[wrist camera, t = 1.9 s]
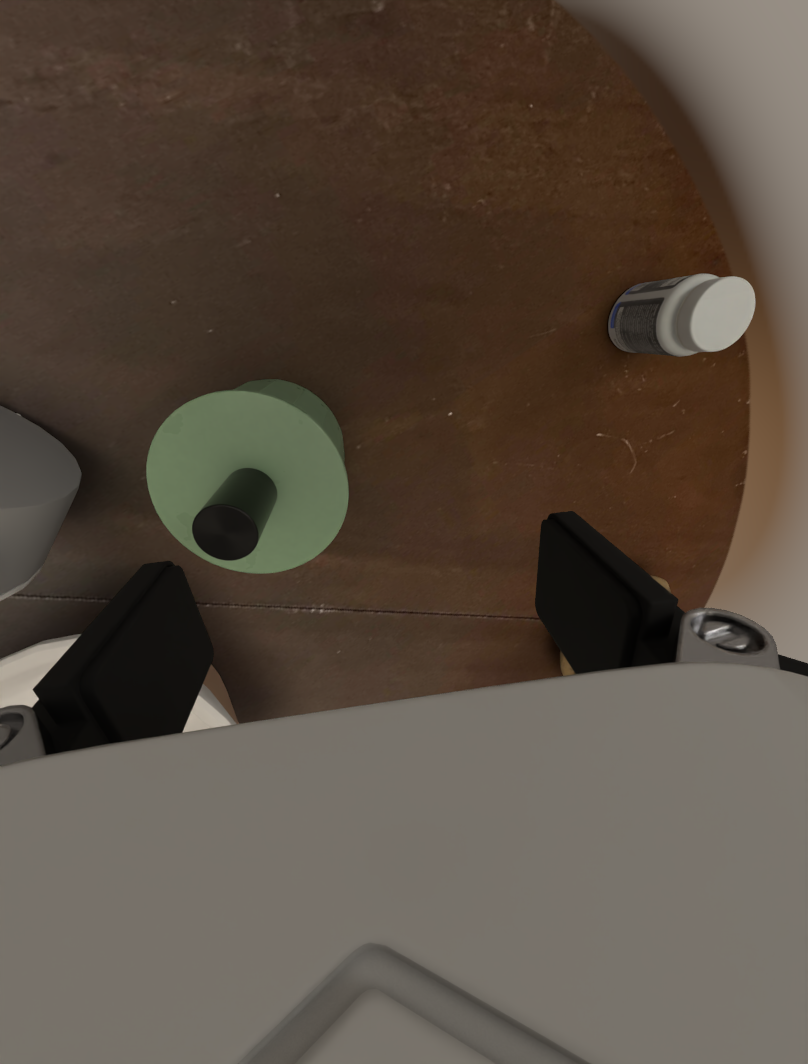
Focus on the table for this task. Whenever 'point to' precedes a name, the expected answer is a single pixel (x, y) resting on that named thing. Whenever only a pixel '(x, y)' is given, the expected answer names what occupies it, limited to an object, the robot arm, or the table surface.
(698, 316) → the pill bottle
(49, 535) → the alarm clock
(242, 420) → the tin lid
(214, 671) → the bowl
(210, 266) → the table surface
